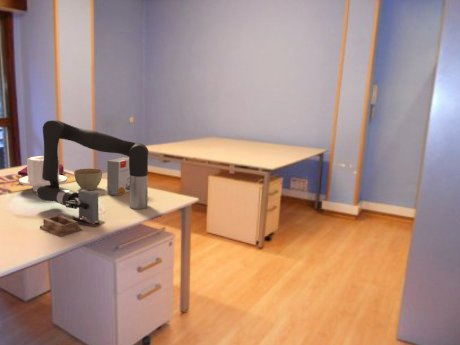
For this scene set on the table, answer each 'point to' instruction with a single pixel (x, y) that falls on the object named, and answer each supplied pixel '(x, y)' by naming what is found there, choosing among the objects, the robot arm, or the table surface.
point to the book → (24, 173)
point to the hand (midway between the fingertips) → (92, 205)
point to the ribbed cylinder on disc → (37, 174)
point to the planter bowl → (88, 178)
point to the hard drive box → (118, 176)
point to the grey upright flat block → (89, 205)
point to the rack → (60, 225)
